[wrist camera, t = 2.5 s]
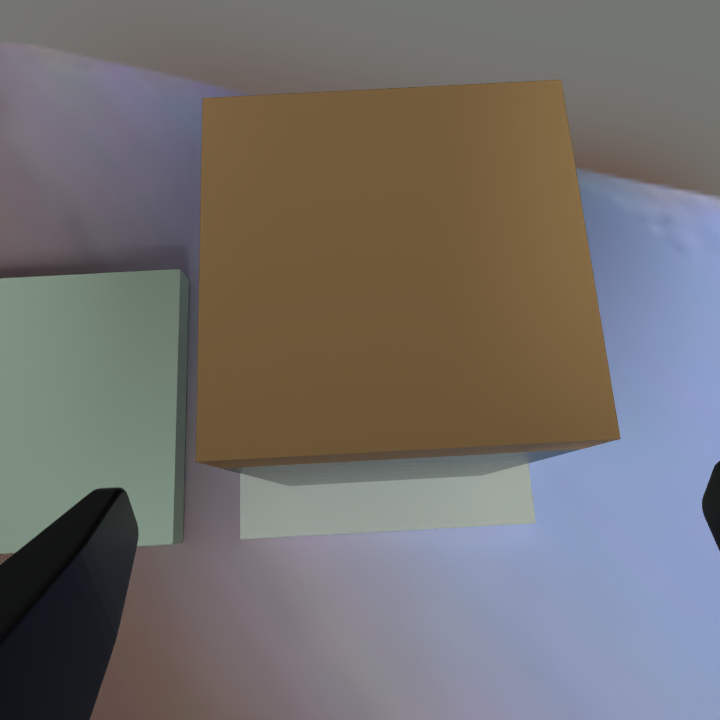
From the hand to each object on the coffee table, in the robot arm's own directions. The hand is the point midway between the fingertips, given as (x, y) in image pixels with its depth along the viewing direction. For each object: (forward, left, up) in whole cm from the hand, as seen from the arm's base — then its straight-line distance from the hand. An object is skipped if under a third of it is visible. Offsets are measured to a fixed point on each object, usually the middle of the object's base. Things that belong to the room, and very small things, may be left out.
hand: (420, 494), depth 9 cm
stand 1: (+3, +11, -10) cm, 16 cm away
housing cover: (+4, 0, -1) cm, 4 cm away
